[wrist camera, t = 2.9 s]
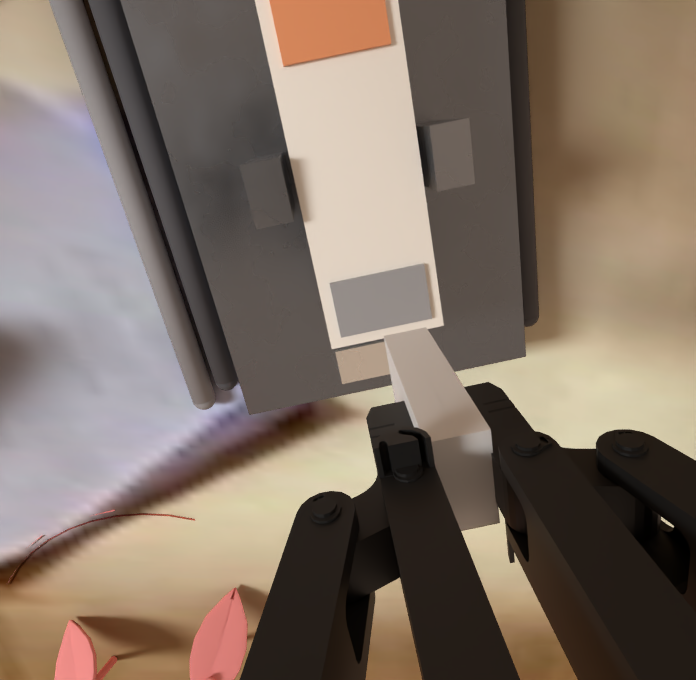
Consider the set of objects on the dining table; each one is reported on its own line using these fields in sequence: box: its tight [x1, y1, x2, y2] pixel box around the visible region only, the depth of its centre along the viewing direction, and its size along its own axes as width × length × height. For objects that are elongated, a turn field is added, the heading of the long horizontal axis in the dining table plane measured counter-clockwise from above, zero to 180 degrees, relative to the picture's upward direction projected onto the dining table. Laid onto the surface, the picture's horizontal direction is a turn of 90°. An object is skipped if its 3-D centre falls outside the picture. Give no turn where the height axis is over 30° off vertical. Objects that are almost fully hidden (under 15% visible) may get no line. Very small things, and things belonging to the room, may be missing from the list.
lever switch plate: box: [120, 0, 526, 415], centre depth 23 cm, size 24×16×9 cm, turn 11°
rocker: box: [255, 0, 444, 349], centre depth 21 cm, size 14×5×2 cm, turn 11°
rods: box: [49, 0, 539, 410], centre depth 27 cm, size 24×22×1 cm
